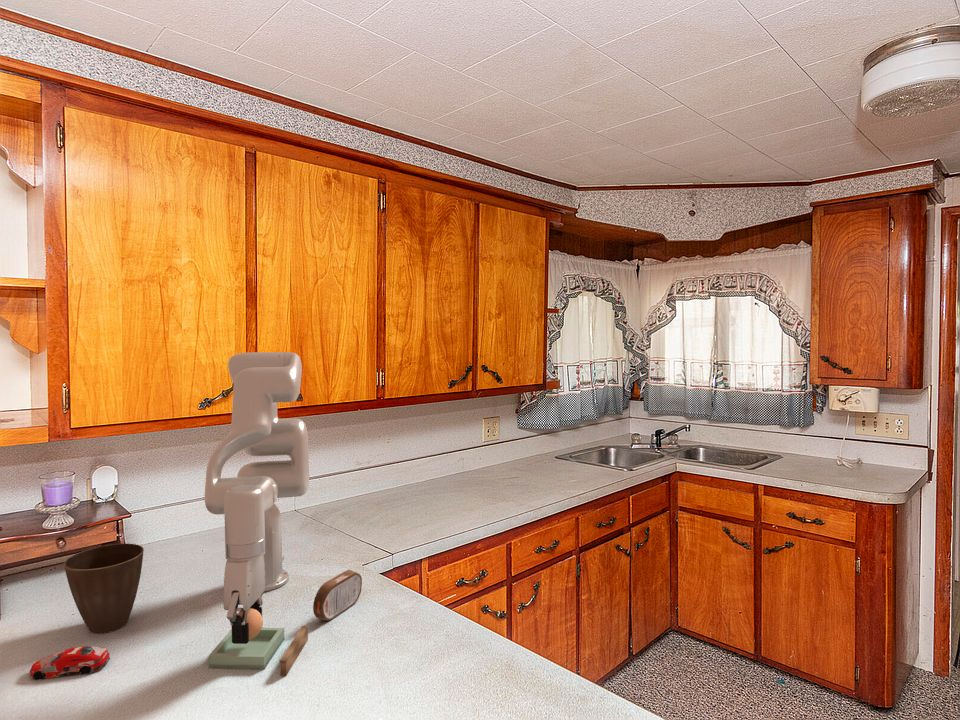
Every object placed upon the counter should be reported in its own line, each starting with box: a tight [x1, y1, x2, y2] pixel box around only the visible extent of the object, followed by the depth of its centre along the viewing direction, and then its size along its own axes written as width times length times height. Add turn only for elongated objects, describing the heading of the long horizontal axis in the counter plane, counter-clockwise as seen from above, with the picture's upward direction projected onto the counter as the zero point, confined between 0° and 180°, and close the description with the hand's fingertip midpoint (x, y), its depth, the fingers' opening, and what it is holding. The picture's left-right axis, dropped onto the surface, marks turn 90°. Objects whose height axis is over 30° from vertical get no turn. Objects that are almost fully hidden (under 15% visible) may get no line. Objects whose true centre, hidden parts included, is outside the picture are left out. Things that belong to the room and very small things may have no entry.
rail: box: [279, 625, 309, 677], centre depth 121 cm, size 13×1×3 cm, turn 178°
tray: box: [207, 627, 285, 670], centre depth 122 cm, size 11×11×2 cm
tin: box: [312, 569, 363, 621], centre depth 139 cm, size 15×3×8 cm, turn 154°
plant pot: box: [63, 543, 145, 635], centre depth 133 cm, size 15×15×16 cm
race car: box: [29, 645, 111, 681], centre depth 116 cm, size 13×5×4 cm, turn 102°
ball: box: [230, 608, 264, 640], centre depth 122 cm, size 6×6×6 cm
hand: (247, 633), depth 122 cm, fingers closed on ball, 5 cm apart
